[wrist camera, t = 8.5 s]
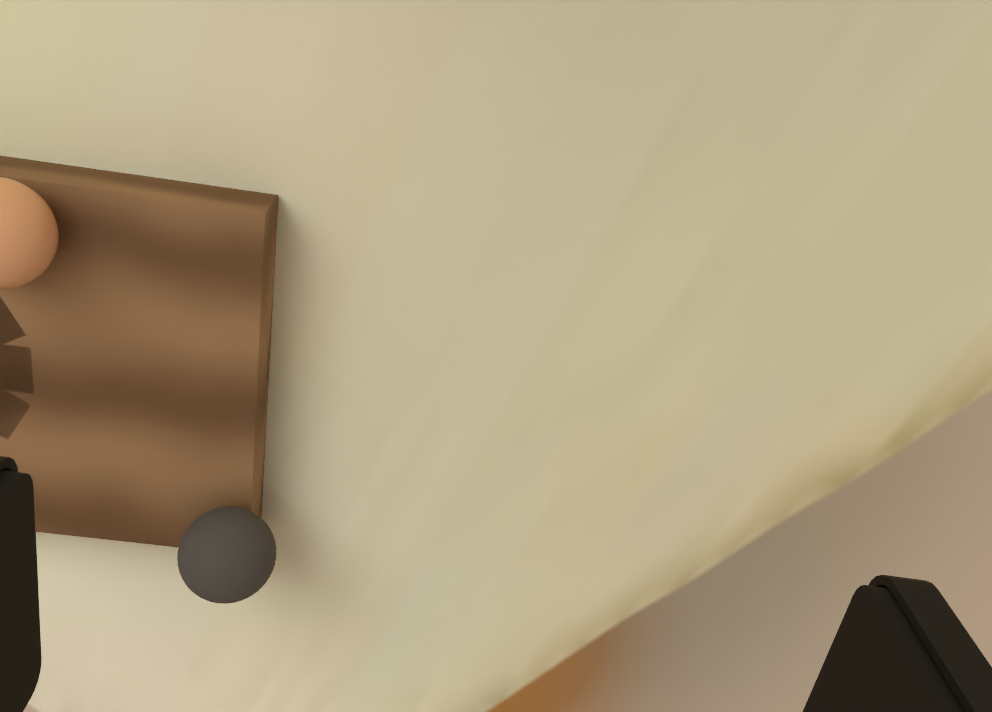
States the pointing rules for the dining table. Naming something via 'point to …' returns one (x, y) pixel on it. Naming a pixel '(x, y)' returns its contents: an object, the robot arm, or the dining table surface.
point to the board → (139, 353)
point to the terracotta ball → (24, 234)
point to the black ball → (226, 554)
